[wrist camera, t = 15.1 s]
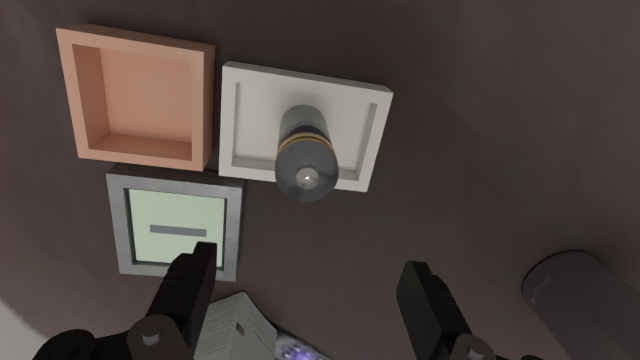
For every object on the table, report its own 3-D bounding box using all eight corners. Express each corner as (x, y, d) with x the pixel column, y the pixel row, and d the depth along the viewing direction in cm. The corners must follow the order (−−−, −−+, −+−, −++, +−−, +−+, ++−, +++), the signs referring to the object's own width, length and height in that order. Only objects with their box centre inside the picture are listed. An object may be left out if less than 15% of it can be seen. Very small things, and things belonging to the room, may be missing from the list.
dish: (215, 44, 26) (203, 52, 22) (212, 151, 30) (202, 171, 26) (89, 23, 25) (55, 27, 21) (104, 138, 29) (78, 157, 25)
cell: (330, 108, 28) (346, 152, 20) (322, 152, 30) (334, 210, 22) (282, 100, 28) (277, 143, 19) (276, 146, 30) (270, 203, 21)
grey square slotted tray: (245, 174, 31) (242, 188, 29) (238, 264, 36) (235, 281, 34) (119, 160, 30) (106, 173, 28) (130, 256, 35) (119, 273, 33)
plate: (227, 190, 31) (224, 199, 30) (223, 256, 35) (221, 267, 34) (136, 180, 30) (128, 189, 29) (142, 249, 34) (136, 260, 32)
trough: (385, 85, 28) (393, 93, 26) (361, 179, 32) (366, 192, 30) (228, 60, 26) (222, 66, 24) (224, 162, 31) (218, 175, 28)
